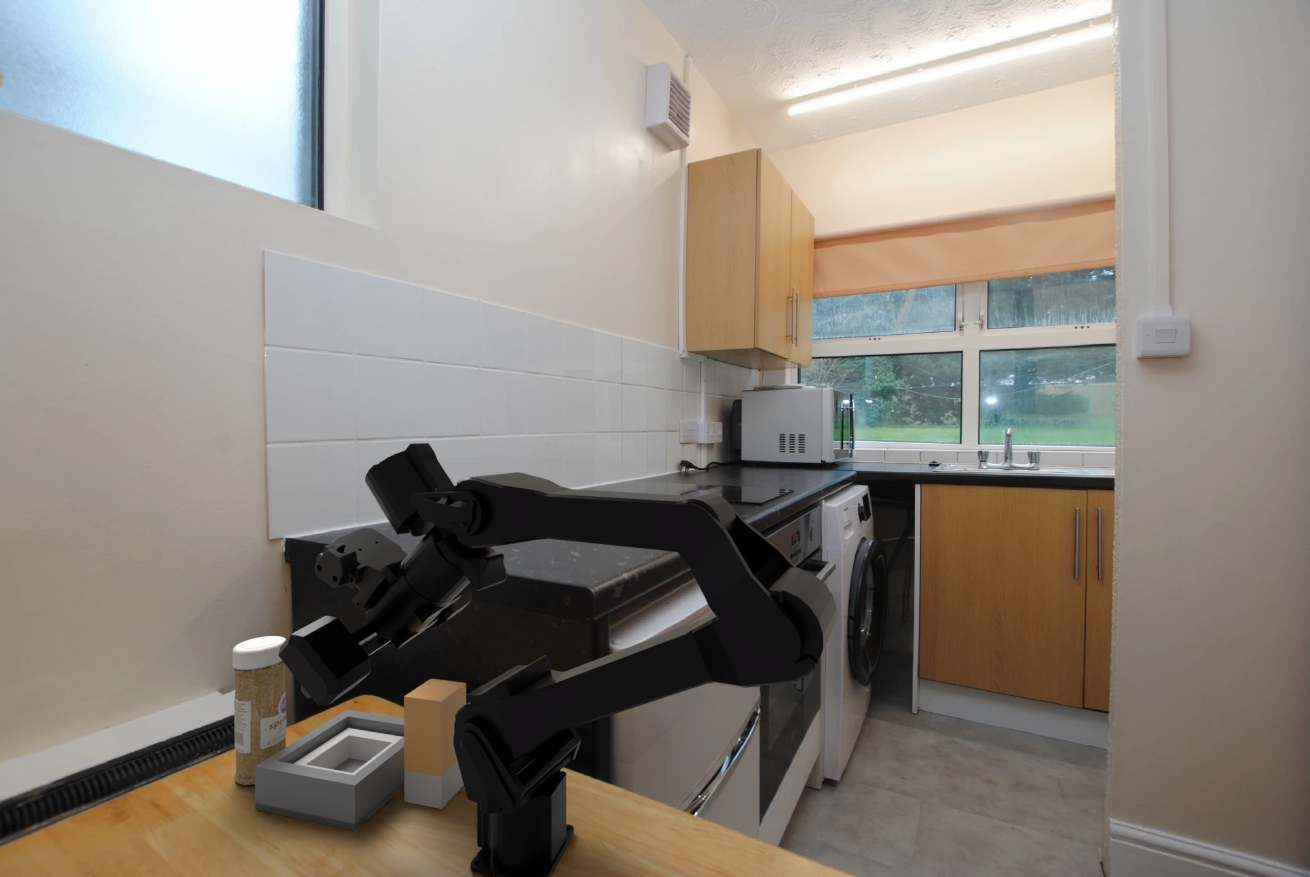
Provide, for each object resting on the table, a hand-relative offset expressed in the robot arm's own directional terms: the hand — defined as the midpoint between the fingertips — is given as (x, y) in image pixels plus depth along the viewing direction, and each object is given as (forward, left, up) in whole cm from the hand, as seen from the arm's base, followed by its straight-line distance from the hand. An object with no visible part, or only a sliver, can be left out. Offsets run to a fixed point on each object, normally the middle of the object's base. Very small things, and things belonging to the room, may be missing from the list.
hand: (345, 666), depth 57 cm
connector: (-9, -1, -12) cm, 15 cm away
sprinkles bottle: (+10, +1, -12) cm, 15 cm away
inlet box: (0, 0, -12) cm, 12 cm away
